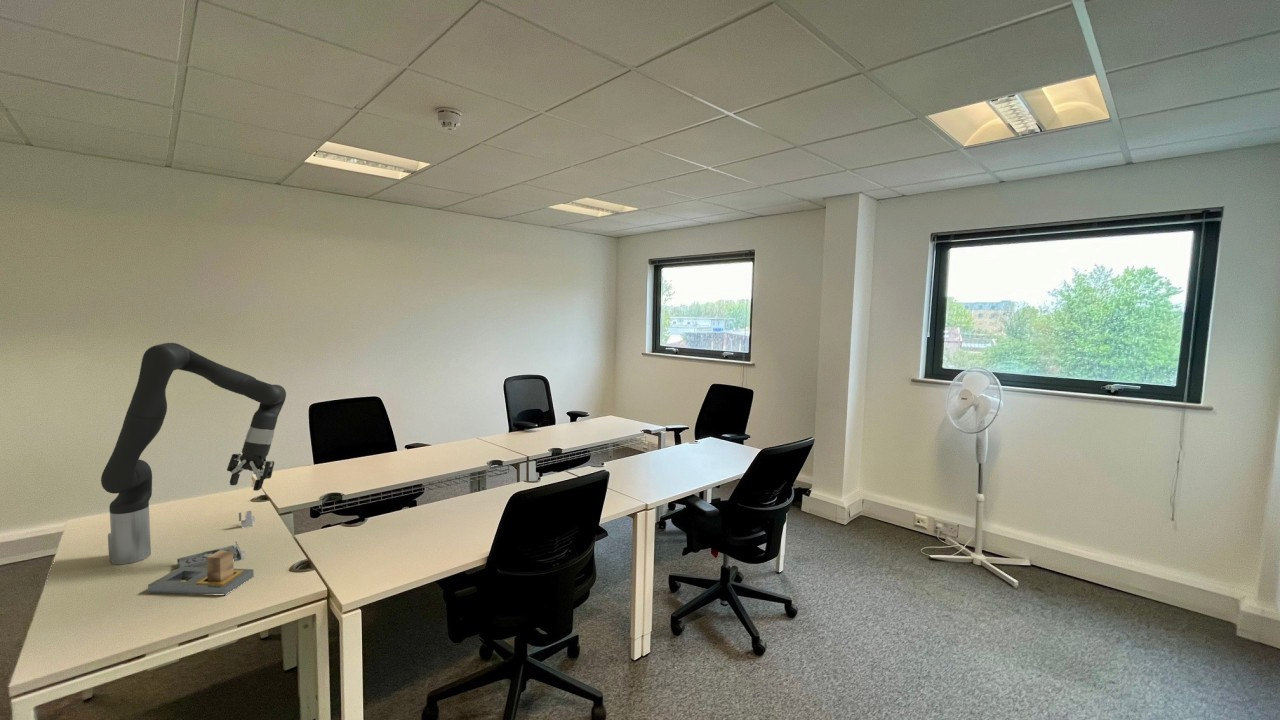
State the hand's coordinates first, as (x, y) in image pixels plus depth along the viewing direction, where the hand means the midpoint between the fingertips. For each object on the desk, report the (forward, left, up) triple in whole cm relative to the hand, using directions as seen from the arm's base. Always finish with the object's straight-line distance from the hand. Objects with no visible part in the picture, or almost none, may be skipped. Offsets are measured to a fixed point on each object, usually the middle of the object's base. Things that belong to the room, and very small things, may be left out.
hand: (244, 487), depth 172 cm
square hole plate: (+1, -19, -24) cm, 31 cm away
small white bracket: (-23, +23, -25) cm, 41 cm away
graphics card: (-9, -4, -25) cm, 27 cm away
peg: (+7, -19, -24) cm, 31 cm away
